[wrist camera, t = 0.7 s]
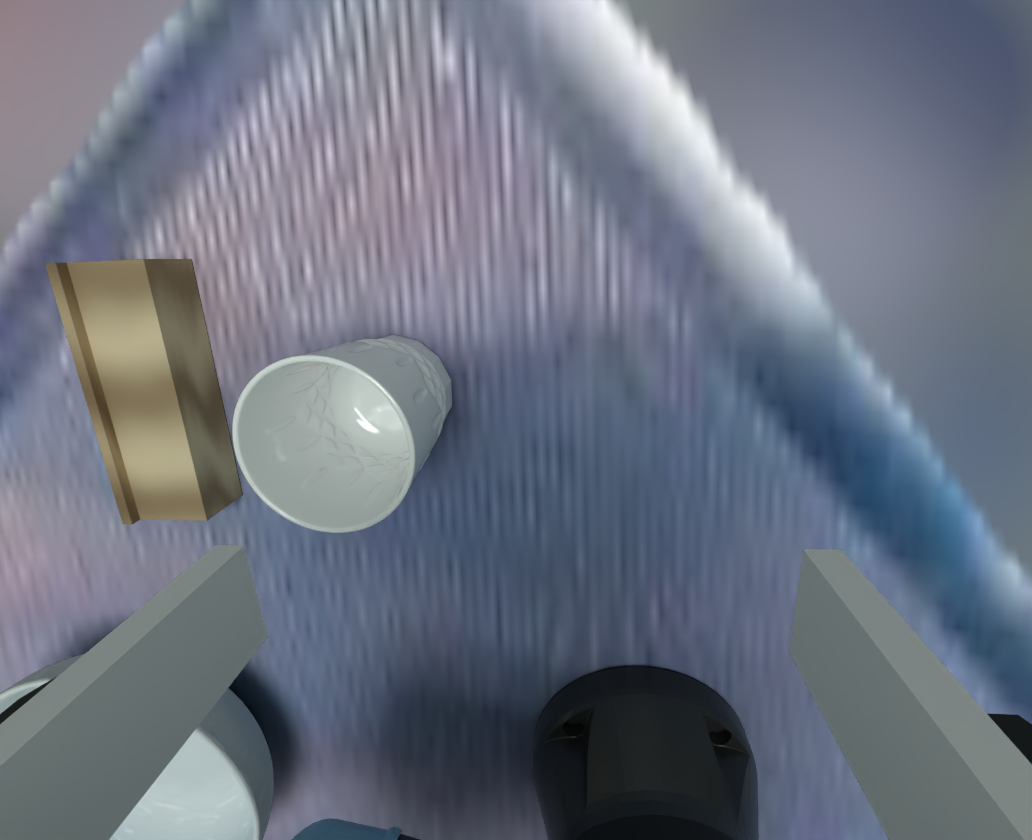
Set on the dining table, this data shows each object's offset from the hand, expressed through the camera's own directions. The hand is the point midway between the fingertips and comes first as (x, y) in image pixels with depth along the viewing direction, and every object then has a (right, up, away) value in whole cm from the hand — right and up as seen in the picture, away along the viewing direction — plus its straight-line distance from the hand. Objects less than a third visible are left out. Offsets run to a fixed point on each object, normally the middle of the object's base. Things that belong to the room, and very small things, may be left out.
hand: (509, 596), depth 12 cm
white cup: (-7, +6, +19) cm, 21 cm away
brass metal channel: (-21, +6, +20) cm, 30 cm away
